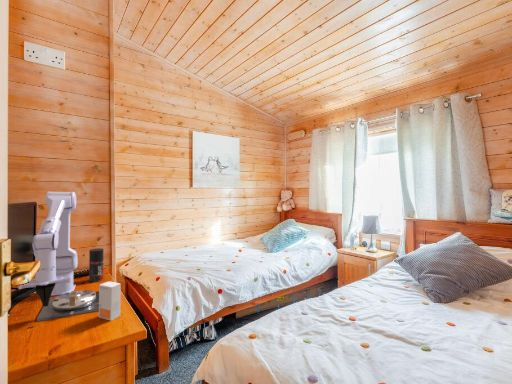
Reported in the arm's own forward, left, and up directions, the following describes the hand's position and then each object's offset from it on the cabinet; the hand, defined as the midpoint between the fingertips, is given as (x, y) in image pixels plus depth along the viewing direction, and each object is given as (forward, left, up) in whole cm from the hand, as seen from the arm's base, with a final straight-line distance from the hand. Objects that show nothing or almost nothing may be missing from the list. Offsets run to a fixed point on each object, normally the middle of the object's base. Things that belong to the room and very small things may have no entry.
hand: (45, 305), depth 96 cm
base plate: (-7, +8, -4) cm, 11 cm away
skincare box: (+9, +20, -4) cm, 23 cm away
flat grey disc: (-6, +8, -3) cm, 10 cm away
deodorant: (-35, +14, -4) cm, 37 cm away
